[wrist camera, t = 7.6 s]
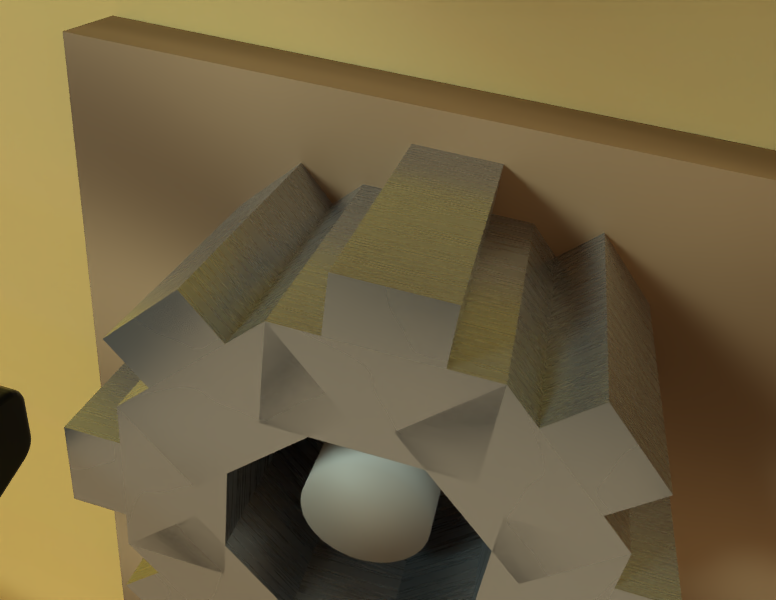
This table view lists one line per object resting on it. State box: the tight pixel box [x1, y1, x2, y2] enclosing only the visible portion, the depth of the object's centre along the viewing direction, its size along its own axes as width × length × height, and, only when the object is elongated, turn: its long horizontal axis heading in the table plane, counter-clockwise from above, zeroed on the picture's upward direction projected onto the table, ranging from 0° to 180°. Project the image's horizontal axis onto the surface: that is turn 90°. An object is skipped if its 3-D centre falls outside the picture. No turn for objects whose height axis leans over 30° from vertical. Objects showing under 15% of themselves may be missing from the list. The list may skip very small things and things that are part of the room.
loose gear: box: [64, 144, 682, 600], centre depth 10 cm, size 7×7×4 cm
